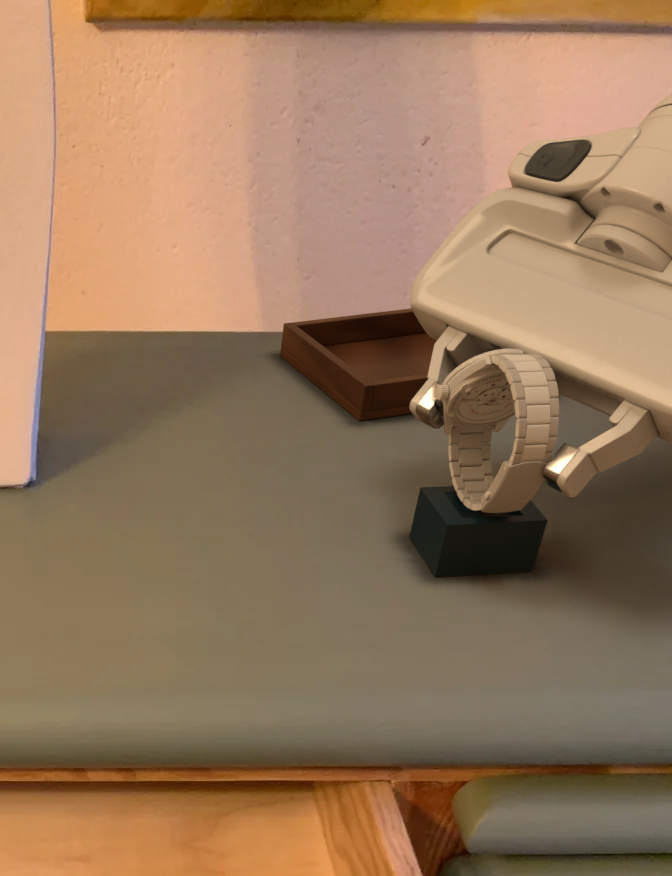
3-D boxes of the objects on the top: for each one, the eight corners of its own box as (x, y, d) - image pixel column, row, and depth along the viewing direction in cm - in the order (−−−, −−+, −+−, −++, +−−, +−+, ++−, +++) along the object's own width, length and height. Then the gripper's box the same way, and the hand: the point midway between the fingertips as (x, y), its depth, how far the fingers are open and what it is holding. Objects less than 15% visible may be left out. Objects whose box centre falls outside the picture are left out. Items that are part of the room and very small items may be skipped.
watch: (489, 516, 68) (540, 326, 60) (545, 588, 62) (609, 386, 54) (396, 521, 67) (437, 330, 60) (444, 594, 61) (495, 391, 54)
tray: (446, 334, 90) (453, 302, 88) (541, 395, 81) (551, 360, 80) (279, 355, 87) (283, 323, 85) (359, 421, 78) (365, 386, 76)
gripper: (878, 324, 53) (666, 565, 56) (536, 216, 66) (377, 415, 69) (866, 234, 48) (635, 501, 51) (501, 136, 62) (332, 353, 64)
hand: (485, 451), depth 60 cm, fingers closed on watch, 8 cm apart
